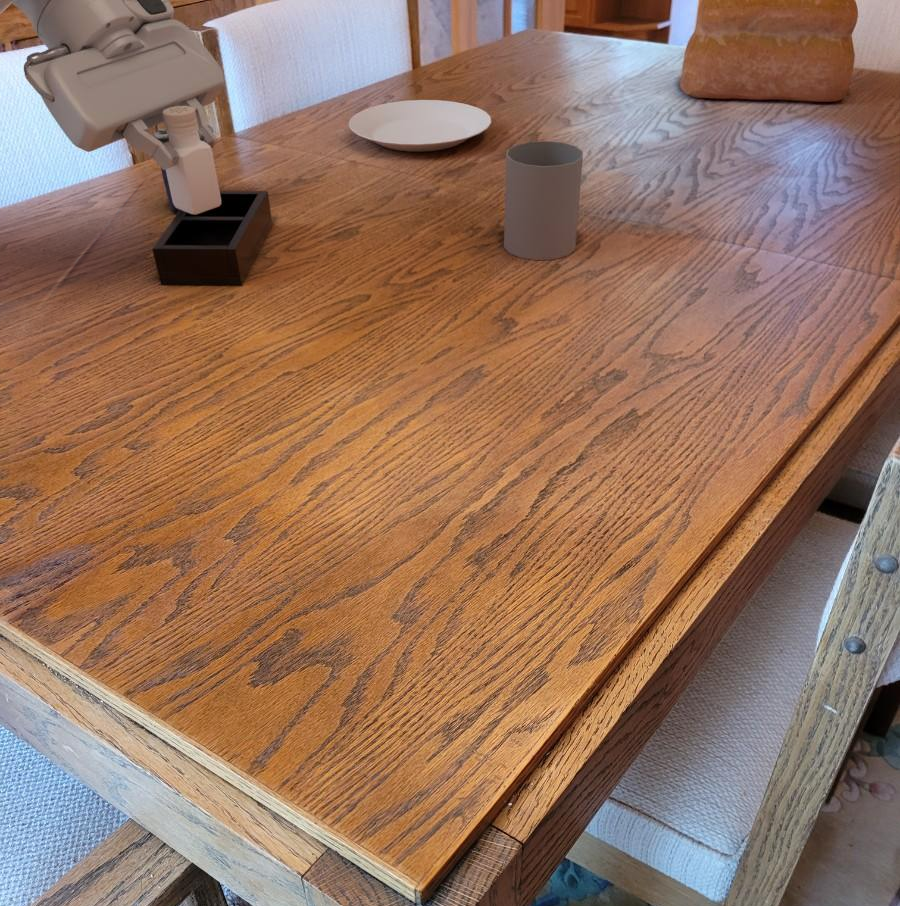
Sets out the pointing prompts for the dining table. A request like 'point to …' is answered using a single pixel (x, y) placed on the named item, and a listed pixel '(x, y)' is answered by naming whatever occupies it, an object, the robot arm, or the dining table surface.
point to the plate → (420, 124)
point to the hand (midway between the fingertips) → (192, 155)
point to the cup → (542, 199)
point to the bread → (771, 50)
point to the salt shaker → (190, 163)
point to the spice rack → (214, 241)
